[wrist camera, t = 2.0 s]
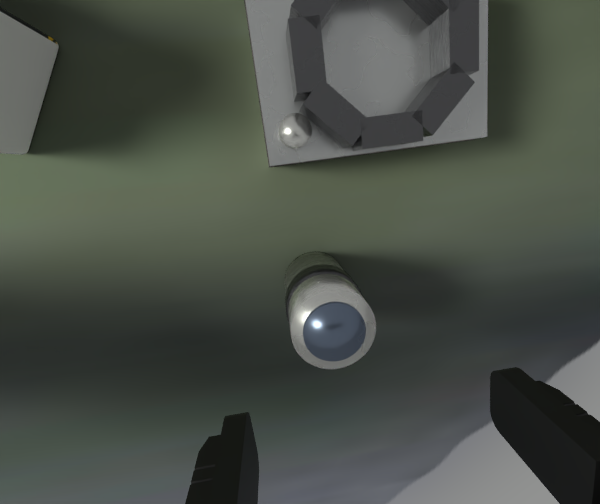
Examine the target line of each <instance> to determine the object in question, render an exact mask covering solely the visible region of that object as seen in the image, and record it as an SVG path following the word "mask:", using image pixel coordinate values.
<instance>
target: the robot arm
mask: <svg viewBox="0 0 600 504" xmlns="http://www.w3.org/2000/svg"><path fill="white" fill-rule="evenodd" d="M490 412H491V417H492V420H493V422H494V424H495V427H496V428H497V430H498V431H499V432H500V434H501V435H502V436H503V437H504V438H505V440H506V441H507V442H508V443H509V444H510V446H511V447H512V448H513V449H514V450H515V451H516V453H517V454H518V455H519V456H520V457H521V458H522V460H523V461H524V462H525V463H526V464H527V466H528V467H529V468H530V469H531V470H532V471H533V473H534V474H535V475H536V476H537V477H538V478H539V480H540V481H541V482H542V483H543V484H544V486H545V487H546V488H547V489H548V490H549V491H550V493H551V494H552V495H553V496H554V497H555V498H556V500H557V501H558V502H559V503H560V504H600V422H599V421H598V420H596V419H595V418H594V417H593V416H591V415H588V413H587V412H586V411H585V410H584V409H583V408H581V407H580V406H579V405H575V403H574V401H572V400H571V399H570V398H569V397H567V396H566V395H565V394H563V393H562V392H561V391H560V390H558V389H556V388H554V387H552V386H550V385H548V384H545V383H543V382H541V381H534V380H533V379H532V378H531V377H530V376H528V375H527V374H526V373H525V372H524V371H522V370H521V369H519V368H517V367H515V368H509V369H503V370H497V371H493V372H492V373H491V377H490ZM258 481H259V461H258V453H257V447H256V442H255V438H254V433H253V428H252V423H251V418H250V415H249V413H248V412H246V413H240V414H235V415H229V416H225V418H224V422H223V427H222V432H221V435H217V436H211V437H209V438H208V439H207V441H206V442H205V444H204V445H203V447H202V448H201V449H200V451H199V453H198V457H197V461H196V465H195V471H194V473H193V476H192V480H191V485H190V488H189V492H188V495H187V499H186V503H185V504H257V502H258Z"/></svg>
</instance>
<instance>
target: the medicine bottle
mask: <svg viewBox="0 0 600 504" xmlns="http://www.w3.org/2000/svg"><path fill="white" fill-rule="evenodd" d="M58 49H59V45H58V43H57V42H56V41H55V40H54V39H53V38H51V37H49V36H48V35H46V34H44V33H43V32H41V31H39V30H38V29H36V28H34V27H33V26H31V25H29V24H28V23H26V22H24V21H22V20H21V19H19V18H17V17H16V16H14V15H12V14H11V13H9V12H7V11H6V10H4V9H2V8H1V7H0V153H6V154H25V153H27V152H28V150H29V147H30V144H31V140H32V137H33V133H34V130H35V127H36V123H37V120H38V117H39V113H40V110H41V106H42V103H43V100H44V96H45V93H46V90H47V86H48V83H49V79H50V76H51V73H52V69H53V66H54V63H55V59H56V56H57V52H58Z"/></svg>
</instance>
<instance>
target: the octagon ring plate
mask: <svg viewBox="0 0 600 504" xmlns="http://www.w3.org/2000/svg"><path fill="white" fill-rule="evenodd" d="M244 2H245V9H246V15H247V22H248V29H249V36H250V42H251V49H252V56H253V62H254V69H255V76H256V82H257V89H258V96H259V103H260V109H261V116H262V123H263V129H264V136H265V143H266V149H267V156H268V163H269V167H276V166H283V165H291V164H298V163H305V162H313V161H320V160H328V159H335V158H342V157H350V156H357V155H365V154H372V153H379V152H387V151H394V150H402V149H409V148H416V147H424V146H431V145H438V144H446V143H453V142H460V141H468V140H474V139H475V138H482V137H487V90H488V0H244Z"/></svg>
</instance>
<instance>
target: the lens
mask: <svg viewBox="0 0 600 504" xmlns="http://www.w3.org/2000/svg"><path fill="white" fill-rule="evenodd" d="M285 291H286V297H285V303H286V312H287V318H288V322H289V324H290V331H291V338H292V343H293V345H294V348H295V350H296V351H297V353H298V354H299V355H300V356H301V357H302V358H303V359H304V360H305V361H306V362H308V363H309V364H311V365H313V366H316V367H319V368H324V369H338V368H343V367H346V366H349V365H351V364H353V363H355V362H356V361H358V360H359V359H360V358H362V357H363V356H364V355H365V354H366V353H367V351H368V350H369V349H370V347H371V345H372V343H373V341H374V338H375V334H376V321H375V317H374V314H373V311H372V309H371V308H370V306H369V305H368V303H367V302H366V301H365V299H364V298H363V297H362V294H361V292H360V290H359V288H358V287H357V285H356V284H355V283H354V281H353V280H352V278H351V277H350V276H349V275H348V274H347V273H346V272H345V271H344V270H343V269H342V267H341V266H340V265H339V263H338V262H337V261H336V260H335V259H334V258H333V257H331V256H330V255H328V254H325V253H322V252H309V253H305V254H302V255H300V256H299V257H297V258H296V259H295V260H294V261H293V262H292V263H291V264H290V265H289V267H288V269H287V271H286V274H285Z"/></svg>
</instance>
